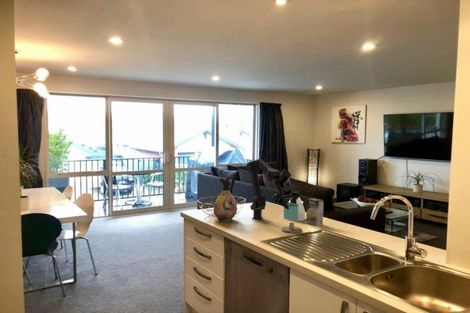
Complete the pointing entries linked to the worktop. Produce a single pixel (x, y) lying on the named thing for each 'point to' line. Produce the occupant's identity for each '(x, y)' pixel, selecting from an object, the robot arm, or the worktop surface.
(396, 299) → the worktop surface
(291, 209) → the teal upright block
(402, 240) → the worktop surface
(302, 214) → the honey pot
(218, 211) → the ceramic jug
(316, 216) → the coffee box
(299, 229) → the post stand
